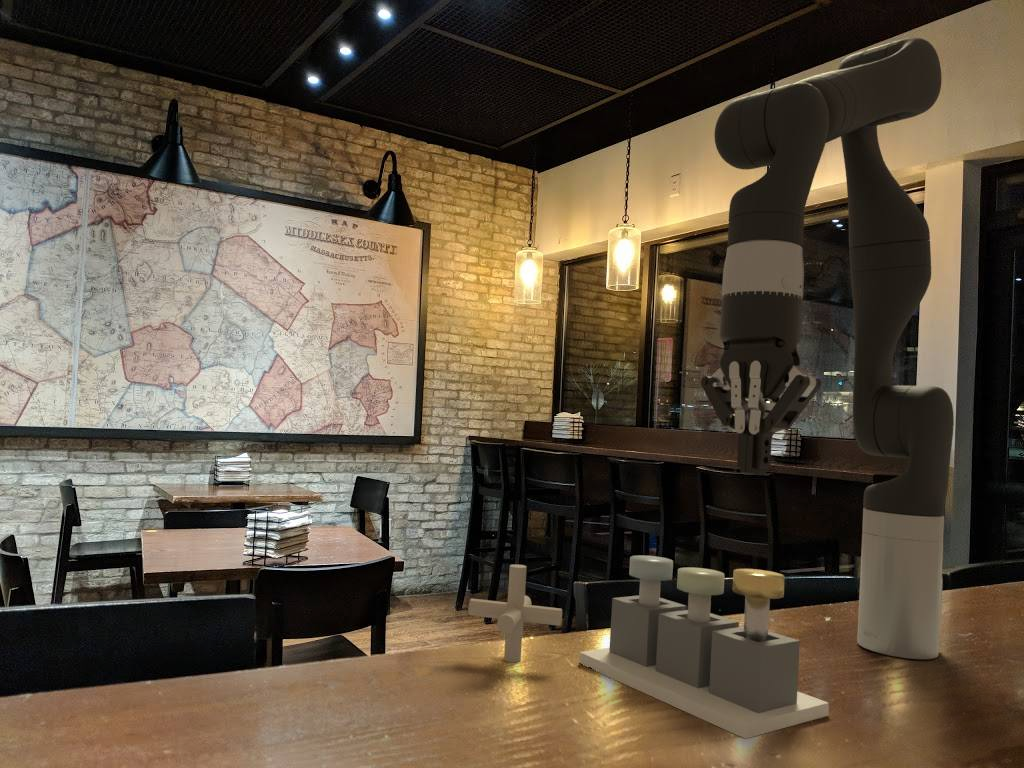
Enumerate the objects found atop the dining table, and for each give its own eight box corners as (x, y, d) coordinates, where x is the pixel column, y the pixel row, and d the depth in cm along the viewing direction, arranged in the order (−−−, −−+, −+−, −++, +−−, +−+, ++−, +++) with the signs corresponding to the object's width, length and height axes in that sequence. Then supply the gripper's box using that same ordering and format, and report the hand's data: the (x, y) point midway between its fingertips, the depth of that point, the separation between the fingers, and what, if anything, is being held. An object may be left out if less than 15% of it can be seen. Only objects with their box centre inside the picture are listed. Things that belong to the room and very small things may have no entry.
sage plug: (694, 645, 83) (699, 566, 84) (729, 658, 79) (734, 575, 80) (663, 651, 81) (668, 568, 81) (698, 664, 77) (703, 578, 77)
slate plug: (647, 629, 89) (651, 554, 89) (677, 639, 85) (682, 562, 86) (616, 633, 86) (621, 556, 87) (647, 644, 83) (651, 564, 83)
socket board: (658, 650, 92) (661, 590, 93) (828, 715, 74) (831, 640, 75) (579, 663, 85) (582, 597, 86) (745, 738, 67) (749, 655, 68)
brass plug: (750, 653, 78) (754, 567, 78) (790, 666, 74) (794, 577, 74) (718, 658, 75) (723, 570, 75) (759, 673, 71) (763, 580, 71)
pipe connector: (551, 680, 79) (557, 579, 80) (455, 667, 81) (461, 569, 82) (564, 652, 89) (569, 563, 90) (478, 641, 91) (484, 554, 92)
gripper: (847, 293, 73) (838, 481, 73) (734, 305, 84) (725, 468, 84) (795, 281, 69) (785, 480, 68) (684, 295, 80) (674, 467, 79)
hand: (752, 473), depth 76 cm, fingers closed
